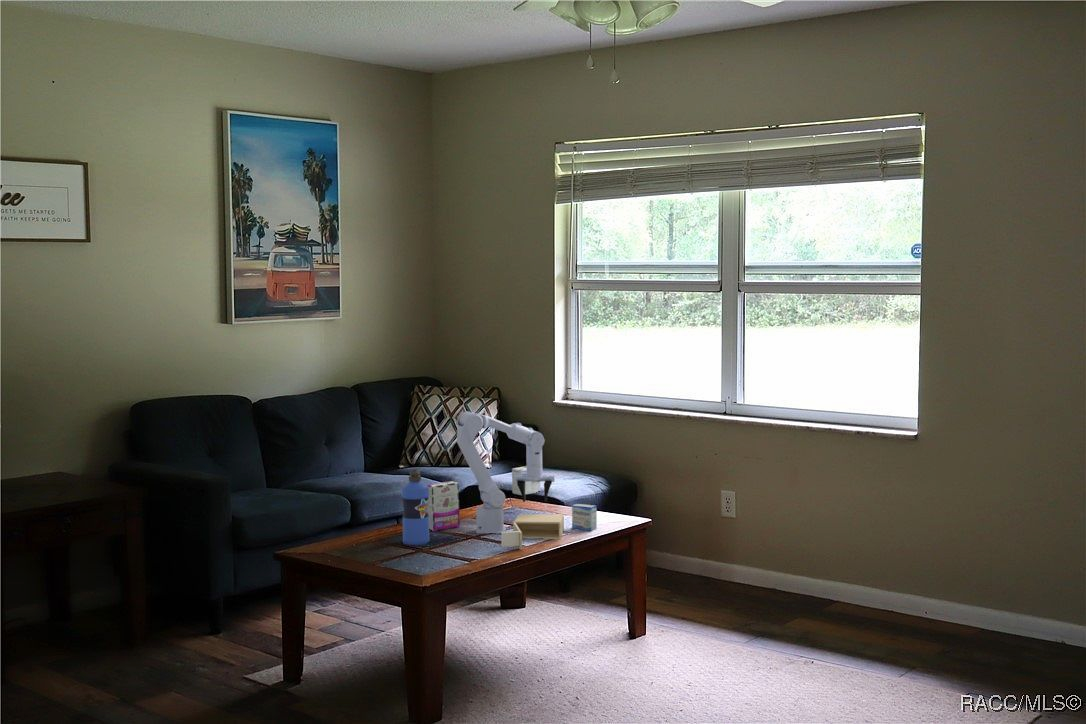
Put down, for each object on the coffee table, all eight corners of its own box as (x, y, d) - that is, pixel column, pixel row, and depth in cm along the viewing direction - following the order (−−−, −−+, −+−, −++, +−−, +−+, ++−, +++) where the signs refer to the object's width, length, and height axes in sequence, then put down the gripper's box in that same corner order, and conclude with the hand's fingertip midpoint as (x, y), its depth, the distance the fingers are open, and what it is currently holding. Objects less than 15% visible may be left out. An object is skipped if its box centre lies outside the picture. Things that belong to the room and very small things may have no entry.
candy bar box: (452, 524, 391) (452, 480, 390) (460, 527, 387) (459, 482, 386) (426, 529, 385) (425, 484, 383) (433, 531, 381) (432, 486, 379)
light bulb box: (531, 489, 457) (530, 464, 456) (541, 492, 451) (540, 466, 451) (511, 493, 450) (511, 467, 449) (521, 495, 445) (521, 469, 444)
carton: (514, 538, 369) (514, 521, 368) (519, 530, 381) (518, 514, 380) (560, 539, 367) (560, 522, 366) (563, 531, 379) (563, 514, 378)
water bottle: (435, 540, 367) (434, 468, 365) (417, 546, 359) (416, 473, 357) (414, 537, 372) (413, 466, 370) (396, 543, 364) (395, 470, 363)
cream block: (496, 539, 367) (495, 522, 367) (515, 538, 368) (514, 521, 368) (502, 550, 351) (502, 533, 351) (522, 549, 352) (521, 532, 352)
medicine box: (571, 529, 382) (571, 505, 381) (577, 526, 386) (576, 503, 385) (591, 531, 378) (591, 507, 377) (597, 528, 382) (596, 505, 381)
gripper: (512, 465, 381) (513, 503, 382) (553, 466, 380) (553, 503, 380) (515, 462, 388) (516, 499, 389) (555, 462, 387) (555, 499, 387)
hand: (534, 501), depth 385 cm, fingers open, 7 cm apart
